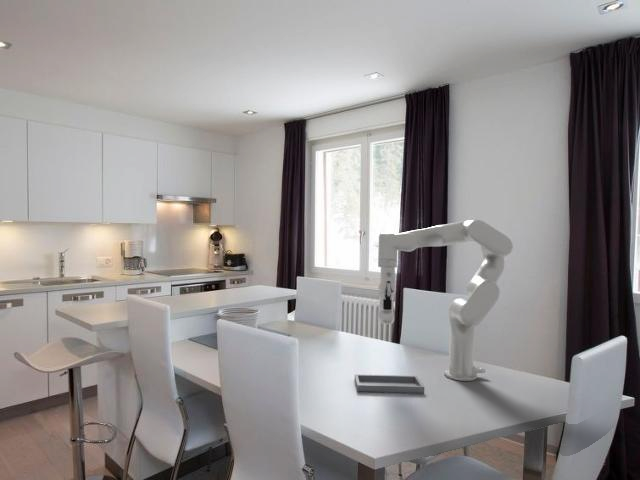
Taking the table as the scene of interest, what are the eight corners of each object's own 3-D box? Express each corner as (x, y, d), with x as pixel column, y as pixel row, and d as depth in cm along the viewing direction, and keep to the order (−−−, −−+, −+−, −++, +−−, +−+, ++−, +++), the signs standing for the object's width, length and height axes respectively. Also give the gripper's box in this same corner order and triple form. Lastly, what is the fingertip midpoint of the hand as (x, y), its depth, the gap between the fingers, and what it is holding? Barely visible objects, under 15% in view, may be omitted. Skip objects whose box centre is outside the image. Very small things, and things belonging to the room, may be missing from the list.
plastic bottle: (393, 326, 174) (395, 275, 173) (376, 324, 175) (377, 274, 175) (394, 322, 180) (396, 274, 179) (378, 321, 181) (379, 273, 181)
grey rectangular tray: (416, 382, 170) (416, 375, 170) (424, 394, 158) (424, 386, 158) (354, 381, 170) (354, 374, 169) (357, 392, 158) (357, 385, 157)
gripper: (400, 265, 168) (398, 312, 169) (393, 262, 185) (392, 305, 186) (380, 264, 168) (379, 311, 169) (376, 261, 186) (374, 304, 186)
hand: (386, 307), depth 177 cm, fingers closed on plastic bottle, 5 cm apart
